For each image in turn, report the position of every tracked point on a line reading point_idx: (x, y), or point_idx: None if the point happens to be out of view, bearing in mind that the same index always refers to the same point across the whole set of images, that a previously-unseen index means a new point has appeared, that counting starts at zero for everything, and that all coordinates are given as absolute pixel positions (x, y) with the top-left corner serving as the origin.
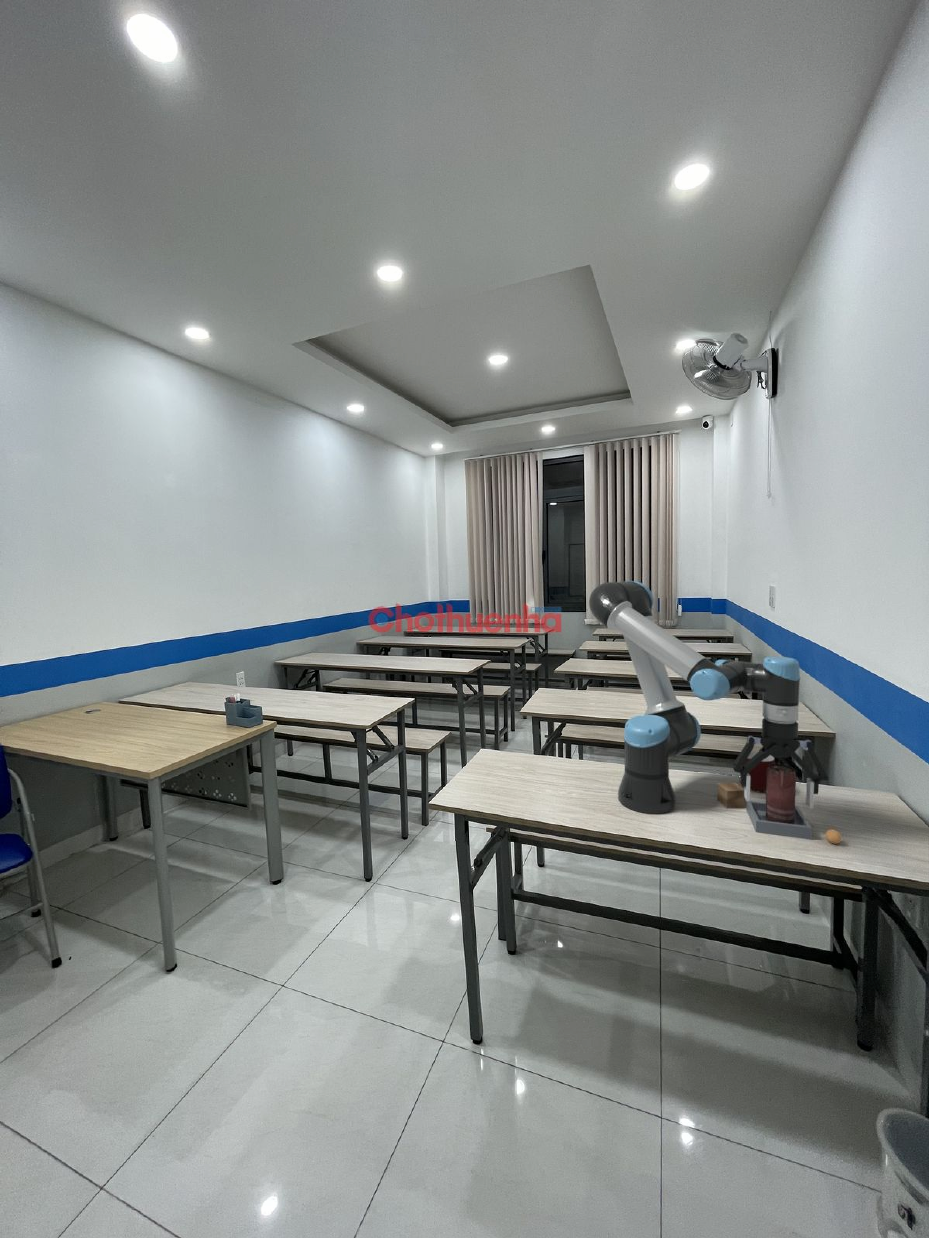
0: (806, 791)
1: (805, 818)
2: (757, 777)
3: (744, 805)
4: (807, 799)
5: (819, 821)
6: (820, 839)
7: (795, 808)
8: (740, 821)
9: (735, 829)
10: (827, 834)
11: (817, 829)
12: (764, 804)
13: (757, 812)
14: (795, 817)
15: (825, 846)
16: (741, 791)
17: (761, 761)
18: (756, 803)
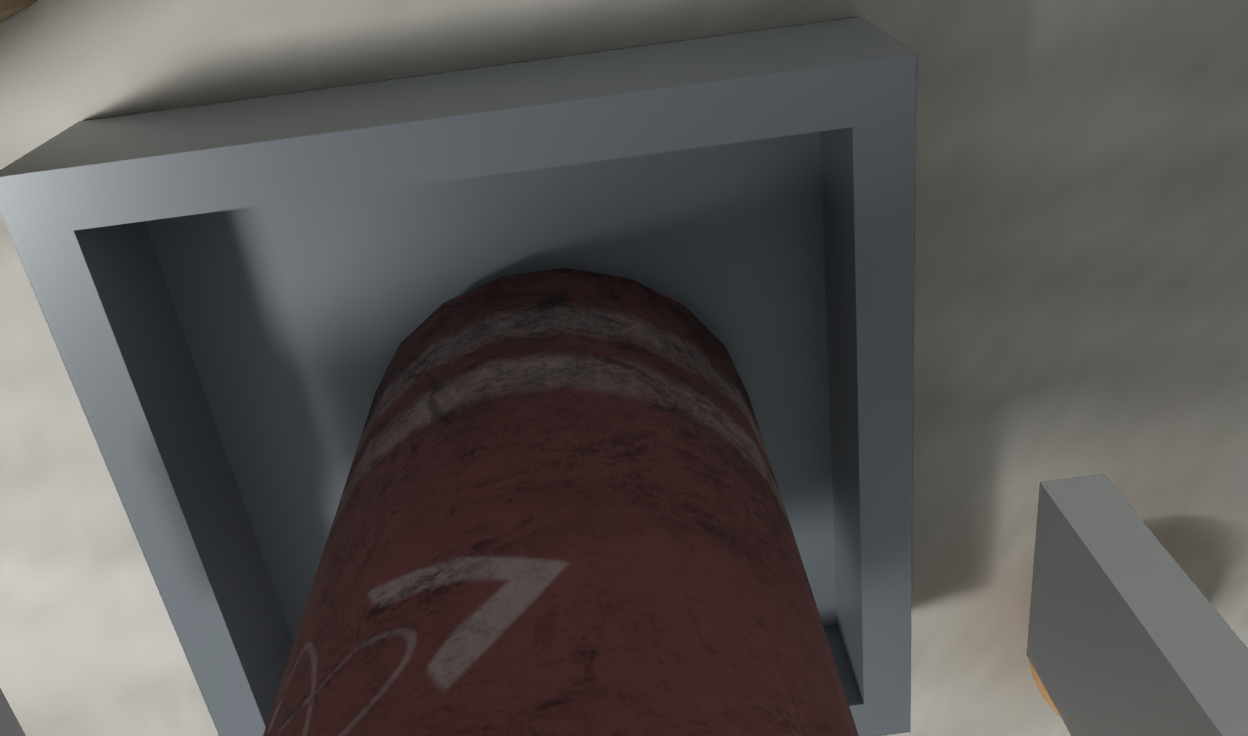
0: (1169, 671)
1: (908, 506)
2: None
3: (3, 12)
4: (1083, 622)
5: (1157, 59)
6: (966, 584)
7: (852, 171)
8: (77, 518)
9: (69, 723)
10: (1053, 707)
11: (1024, 347)
12: (323, 192)
13: (250, 257)
14: (808, 199)
15: (964, 702)
16: None
17: None
18: (182, 214)
